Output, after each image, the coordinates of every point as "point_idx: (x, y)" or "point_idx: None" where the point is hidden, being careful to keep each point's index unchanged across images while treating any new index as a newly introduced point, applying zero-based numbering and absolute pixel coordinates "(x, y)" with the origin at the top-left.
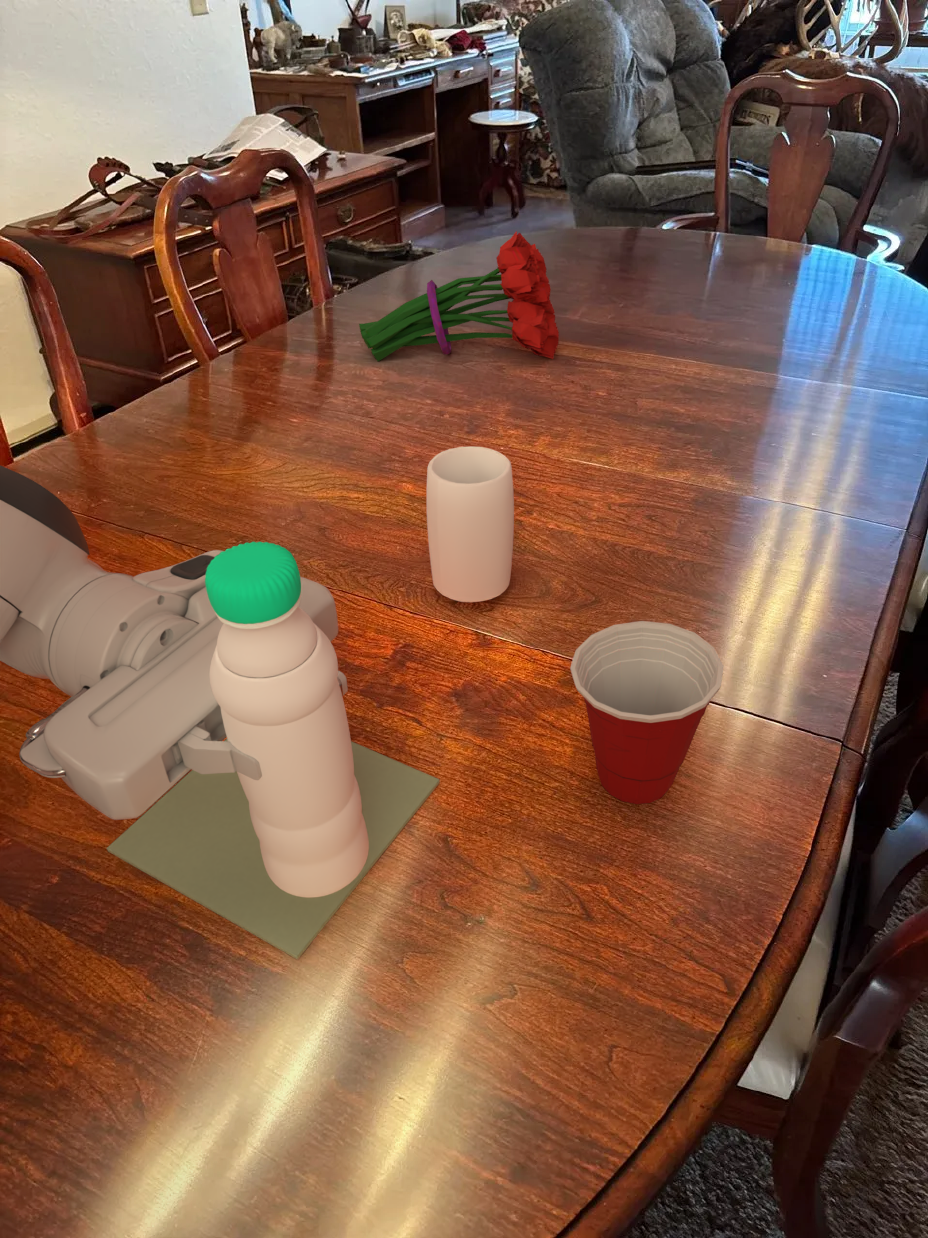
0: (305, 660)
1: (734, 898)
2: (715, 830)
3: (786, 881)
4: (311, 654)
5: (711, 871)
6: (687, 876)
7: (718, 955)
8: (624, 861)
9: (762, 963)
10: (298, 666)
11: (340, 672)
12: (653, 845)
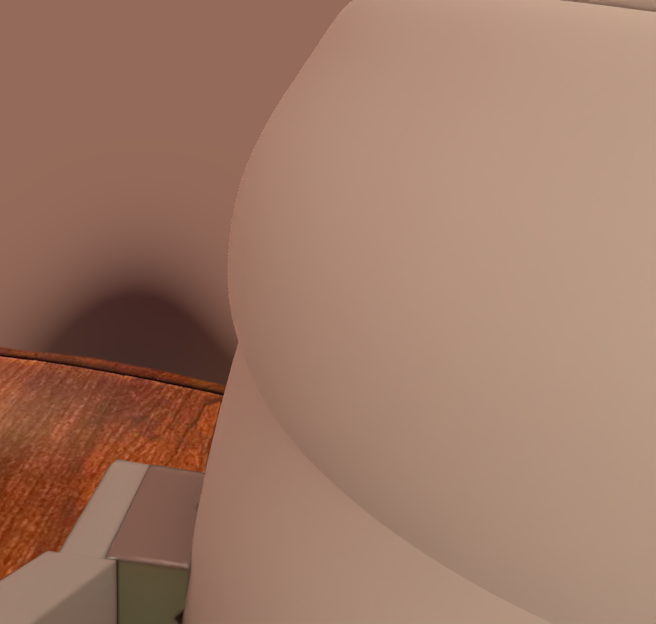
0: (212, 458)
1: (111, 401)
2: (9, 418)
3: (82, 373)
4: (231, 367)
5: (76, 417)
6: (87, 433)
7: (184, 408)
8: (70, 487)
9: (182, 384)
10: (209, 545)
11: (116, 465)
12: (38, 465)
